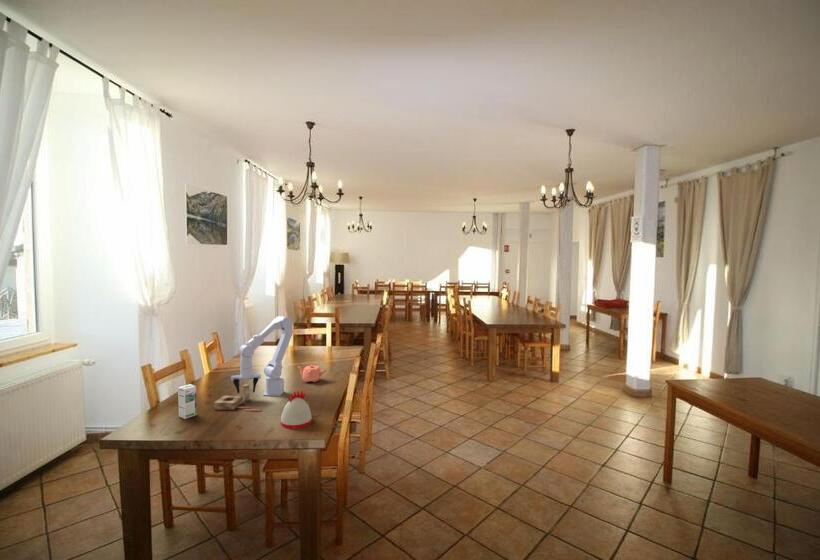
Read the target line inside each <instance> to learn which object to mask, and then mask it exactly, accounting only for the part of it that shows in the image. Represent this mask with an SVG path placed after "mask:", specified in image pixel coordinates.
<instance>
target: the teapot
mask: <svg viewBox="0 0 820 560" xmlns="http://www.w3.org/2000/svg"><path fill="white" fill-rule="evenodd" d="M297 368H298V369H299V373H300V375H301V376H302V377H301V378H302V381H303V382H308V383H309V382H312V383H313V382H316V383H317V382H319V380H320V379H321V376H322V375H324V374H325V373H326V372H327V370H326V368H324V369H321V367H320V366H319V365H314V364H310V365H306V366H305V367H304V368H303V369H302V367H301V366H300V365H298V366H297Z"/></svg>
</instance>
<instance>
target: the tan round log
mask: <svg viewBox="0 0 820 560" xmlns="http://www.w3.org/2000/svg"><path fill="white" fill-rule="evenodd" d="M242 389H243V393H242V394H243V395H242V396H243V402H248V401H250V384H248V383H247V384H244V385H243V386H242Z"/></svg>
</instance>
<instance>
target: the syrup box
mask: <svg viewBox="0 0 820 560" xmlns="http://www.w3.org/2000/svg"><path fill="white" fill-rule="evenodd" d="M177 397H178V398H177V399H178V402H177V403H178V417H180V418H182V419H184V420H186V419H189V418H192V417H195V416H197V415H198V414H197V413H198V411H197V410H198V409H197V385H195V384H190V383H189V384H186V385H183V386H178V388H177Z"/></svg>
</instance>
